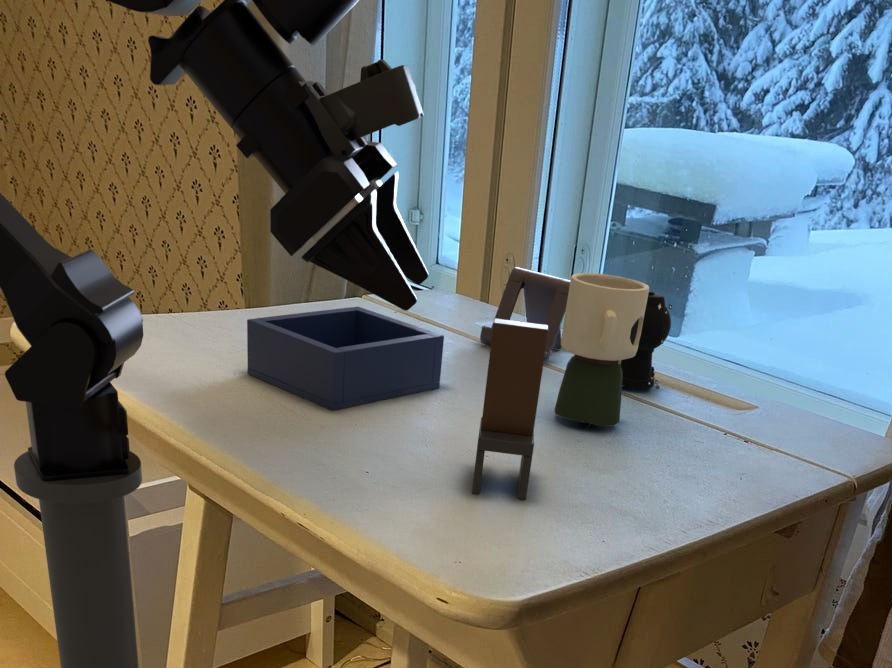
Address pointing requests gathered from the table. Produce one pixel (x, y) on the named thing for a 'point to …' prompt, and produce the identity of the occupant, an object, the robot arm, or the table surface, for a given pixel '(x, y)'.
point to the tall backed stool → (511, 395)
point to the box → (344, 356)
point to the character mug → (599, 345)
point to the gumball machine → (647, 344)
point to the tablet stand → (534, 304)
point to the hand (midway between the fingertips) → (418, 292)
